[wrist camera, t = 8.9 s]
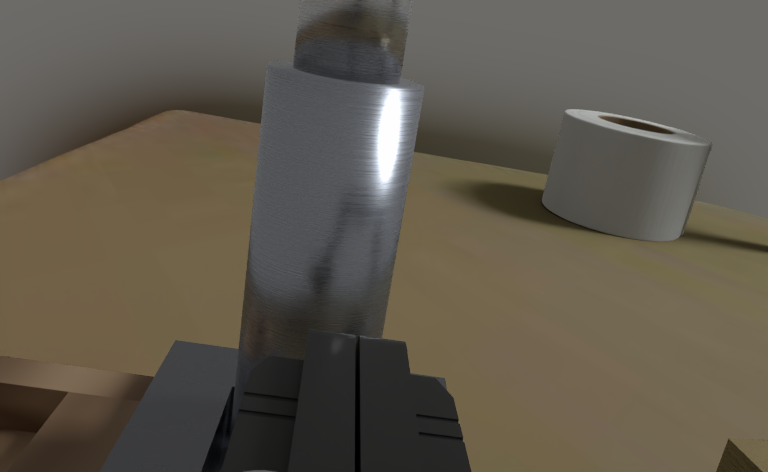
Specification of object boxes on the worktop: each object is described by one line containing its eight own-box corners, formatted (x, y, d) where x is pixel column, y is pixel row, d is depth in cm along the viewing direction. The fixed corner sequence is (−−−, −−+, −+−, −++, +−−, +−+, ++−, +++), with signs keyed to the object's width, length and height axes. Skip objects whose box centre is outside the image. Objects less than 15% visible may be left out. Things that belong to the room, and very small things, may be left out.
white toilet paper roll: (700, 231, 80) (730, 138, 77) (649, 251, 69) (682, 144, 65) (578, 191, 90) (600, 107, 86) (515, 204, 78) (538, 107, 75)
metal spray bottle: (316, 438, 27) (388, -67, 21) (379, 512, 24) (485, -64, 18) (205, 466, 24) (254, -98, 19) (258, 553, 21) (337, -101, 15)
